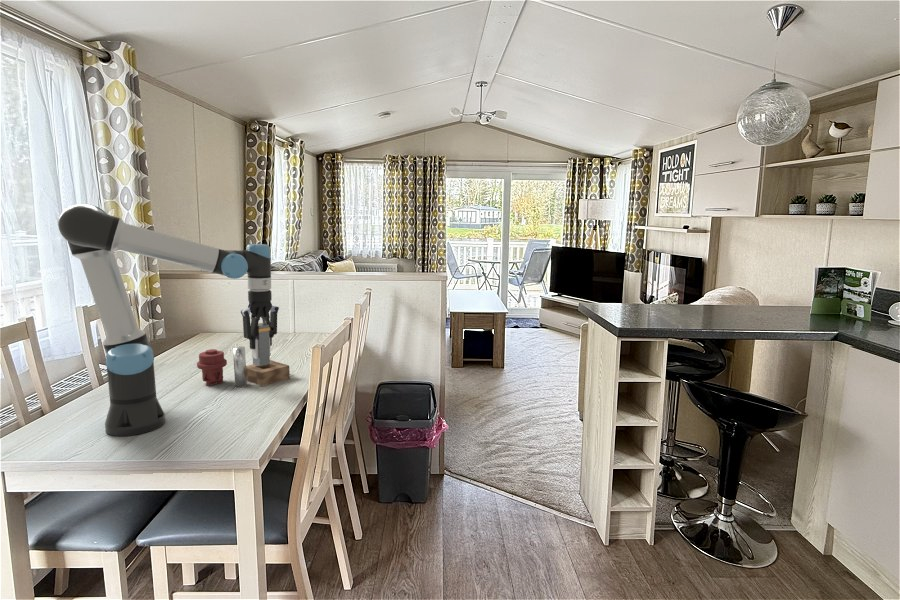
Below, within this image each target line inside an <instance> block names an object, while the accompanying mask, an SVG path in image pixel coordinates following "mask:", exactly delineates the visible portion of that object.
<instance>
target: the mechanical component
mask: <svg viewBox="0 0 900 600" xmlns="http://www.w3.org/2000/svg"><path fill="white" fill-rule="evenodd" d="M227 361H228V360H227V359H226V358H225V352H224V351H222V350H218V349H215V348H211V349H207V350H205V351H202V352H200V353H199V354H198V361H197V362H196V368H197V369H200V370H201V377H202V378H201V379H202V381H203V382H205V383H206V386H213V385H215V384H223V382H224V367H226V366H227V365H228V362H227Z"/></svg>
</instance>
